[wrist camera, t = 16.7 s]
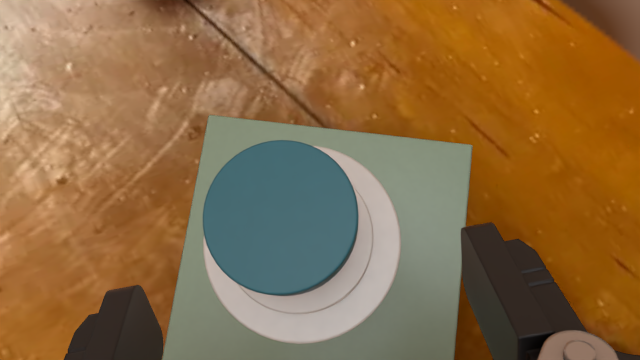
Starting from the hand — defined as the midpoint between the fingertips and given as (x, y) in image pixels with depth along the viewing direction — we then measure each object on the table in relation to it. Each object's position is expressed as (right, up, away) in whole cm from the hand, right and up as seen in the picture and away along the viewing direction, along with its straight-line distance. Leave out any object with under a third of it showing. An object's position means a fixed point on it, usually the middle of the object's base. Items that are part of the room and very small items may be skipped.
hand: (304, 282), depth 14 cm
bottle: (0, -1, +10) cm, 10 cm away
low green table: (+1, -2, +15) cm, 15 cm away
